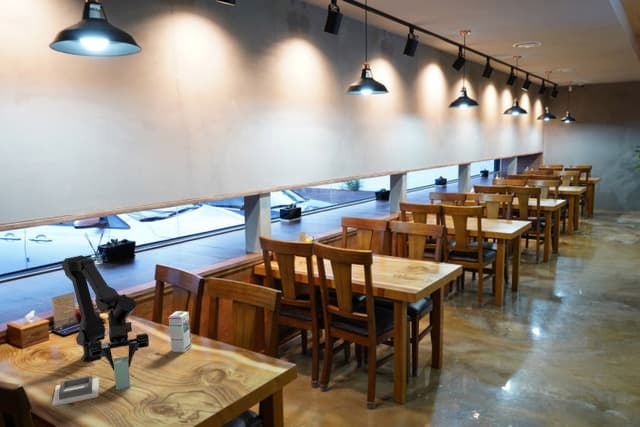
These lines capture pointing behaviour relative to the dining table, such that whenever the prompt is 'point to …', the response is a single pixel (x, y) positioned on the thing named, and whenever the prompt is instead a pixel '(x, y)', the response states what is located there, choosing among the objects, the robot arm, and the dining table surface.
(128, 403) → the dining table surface
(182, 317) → the syrup box
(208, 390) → the dining table surface
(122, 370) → the teal green block
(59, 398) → the white grey square base
